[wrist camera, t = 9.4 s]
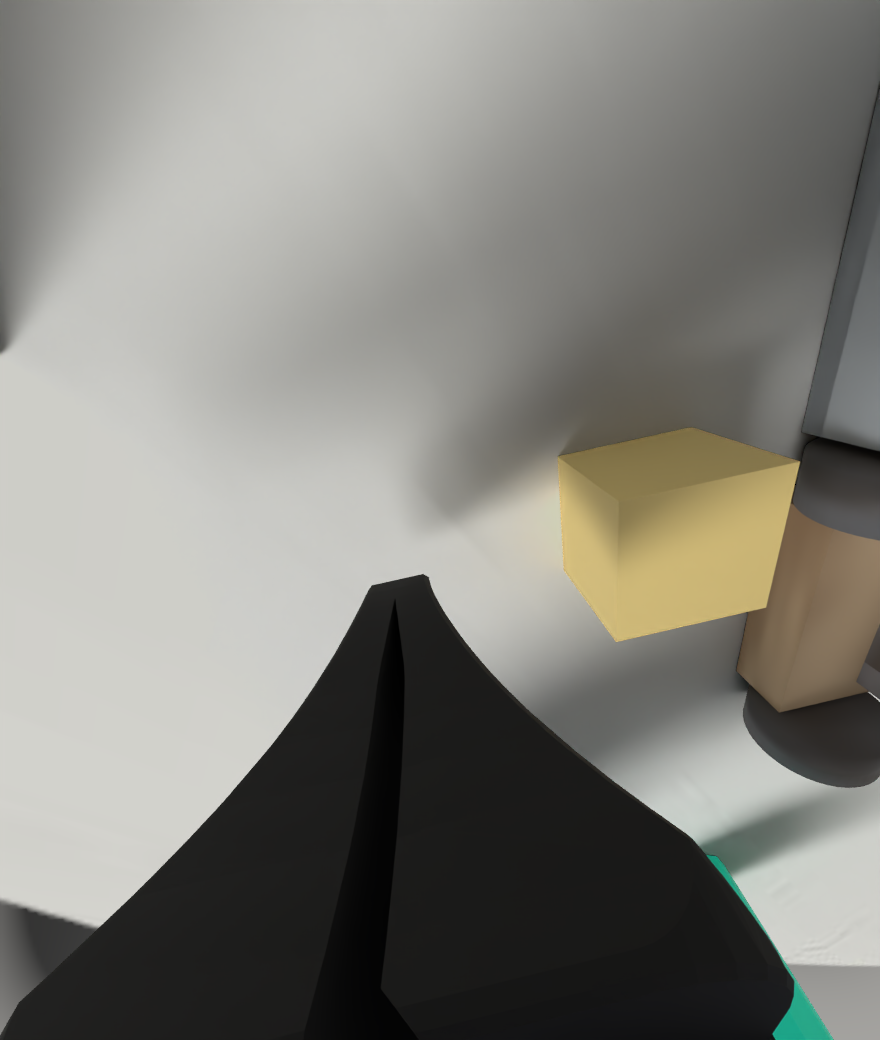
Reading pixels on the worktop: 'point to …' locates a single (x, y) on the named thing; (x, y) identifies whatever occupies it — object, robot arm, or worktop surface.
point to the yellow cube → (673, 528)
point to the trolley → (822, 625)
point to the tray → (853, 323)
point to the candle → (801, 1027)
